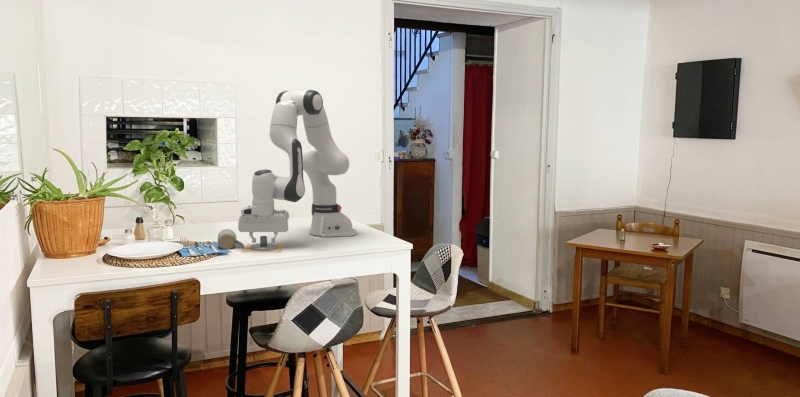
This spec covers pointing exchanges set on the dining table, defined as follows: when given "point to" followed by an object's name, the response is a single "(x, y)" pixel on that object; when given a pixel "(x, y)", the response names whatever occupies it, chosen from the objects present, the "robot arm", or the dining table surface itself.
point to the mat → (278, 249)
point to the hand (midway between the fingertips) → (263, 242)
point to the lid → (263, 245)
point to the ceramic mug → (228, 240)
